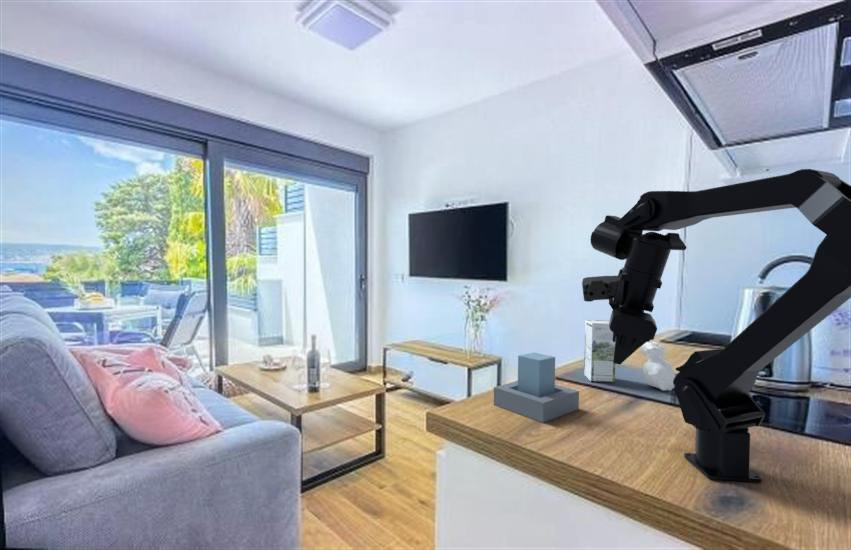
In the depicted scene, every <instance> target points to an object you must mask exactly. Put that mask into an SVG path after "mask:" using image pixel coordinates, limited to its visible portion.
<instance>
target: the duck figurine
mask: <svg viewBox="0 0 851 550" xmlns="http://www.w3.org/2000/svg"><path fill="white" fill-rule="evenodd" d="M640 351H641V354H642V355H643V356H647V357H648V359H647V361H646V362H645V363H643V367H642V368H643V369H642V377H643V379H644V381H645V383H646V384H647V385H648V386H650V387H654V388H657V389H660V390H661V391H663V392H664V391H669V392H670V391H672V390H673V389H674V384H673V380H674V378H675V376H676V374H675V371H674V368H673V366H672V364H671V363H670V362H669V361H668V360H666V359H665V356H666V353H667V350H666V347H663V345H660V343H657V342H656V341H652V342H650V341H649V342H646V343H645V344H643V345H642V346H641V347H640Z"/></svg>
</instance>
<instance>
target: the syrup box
mask: <svg viewBox="0 0 851 550" xmlns="http://www.w3.org/2000/svg"><path fill="white" fill-rule="evenodd" d="M609 322H610V319H609V320H608V319H607V320H606V319H585V325H584V328H585V329H584V357H583V358H584V364H583V376H584V377H585V376H586V377H587V378H588V379H587V378H586V377H585V378H586V379H587V380H588V381H590V382H591V381H594V383H595V382H596V383H615V381H616V364H615V363H614V362H613V359H614V349H615V342H613V332H612V331H611V330H610V328H609Z"/></svg>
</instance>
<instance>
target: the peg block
mask: <svg viewBox="0 0 851 550" xmlns="http://www.w3.org/2000/svg"><path fill="white" fill-rule="evenodd" d="M517 381H518V391H520V392H523V393H527V394H530V395H533V396H536V397H539V398H542V397H545V396H548V395H551V394H554V393H555V385H556V356H552V355H549V354H543V353H538V352H530V353H524V354H519V355H517Z"/></svg>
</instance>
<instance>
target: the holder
mask: <svg viewBox="0 0 851 550" xmlns="http://www.w3.org/2000/svg"><path fill="white" fill-rule="evenodd" d="M493 405H494V406H495V407H496V406H497V407H498V408H499V407H500V408H501V409H504V410H506V411H507V410H508V411H510V412H512V413H516V414H518V415H520V416H524V417H526V418H529V419H532V420H535V421H537V422H539V423H543V424H545V423H546V422H548V421H551V420H554V419H556V418H559V417H561V416H562V417H563V416H564V415H566V414H570V413H572V412H574V411H577V410H579V406H580V390H576V389H573V388H570V387H565V386H562V385H558V384H555V393H554V394H551V395H548V396H545V397H542V398H539V397H536V396H533V395H530V394H527V393H523V392H520V391H518V380H517V381H512V382H509V383H505V384H501V385H500V384H499V385H497V386H494V387H493Z"/></svg>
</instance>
